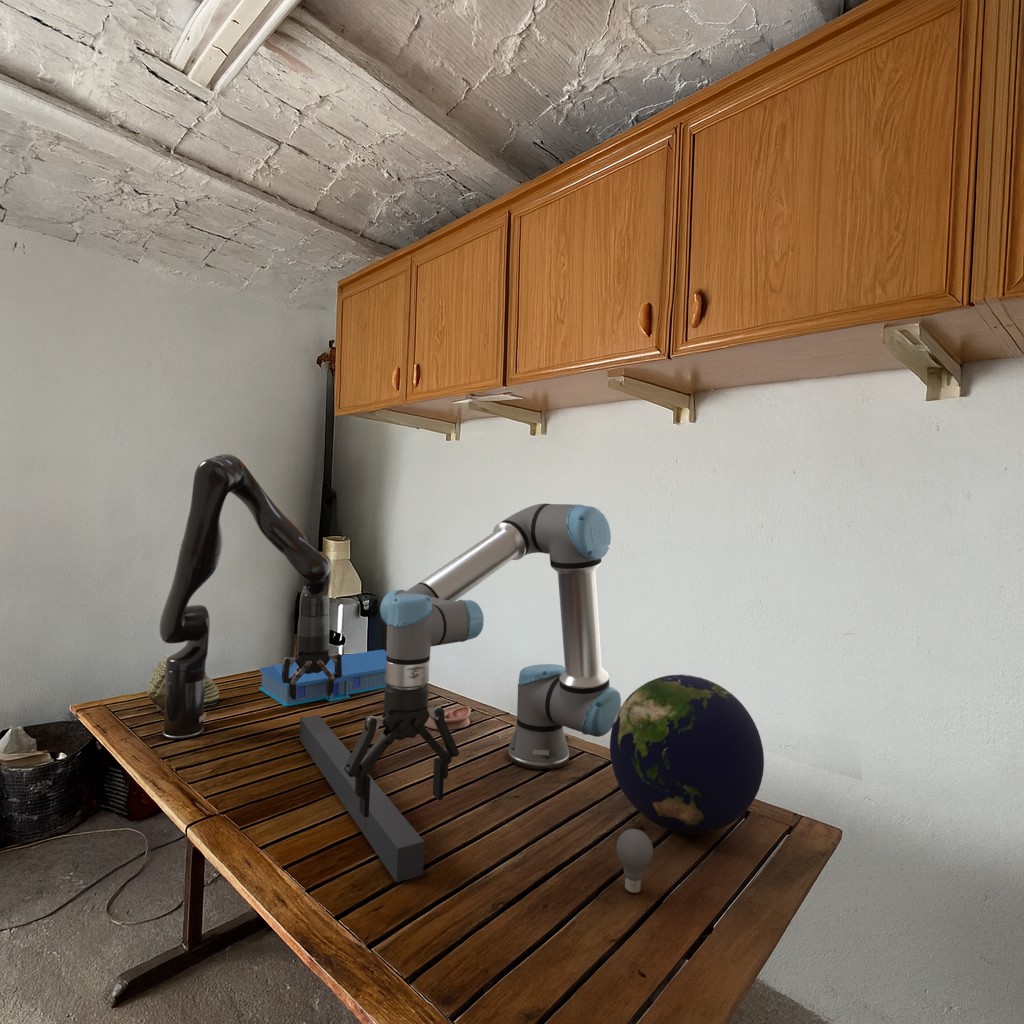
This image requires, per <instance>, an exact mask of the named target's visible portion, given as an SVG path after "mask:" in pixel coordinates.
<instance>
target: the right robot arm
mask: <svg viewBox="0 0 1024 1024" xmlns="http://www.w3.org/2000/svg"><path fill="white" fill-rule="evenodd" d="M611 538H612V532H611V527H610V524H609V521H608V519H607V517H606V515H605V514H604V513H603V512H602V511H601V510H600V509H599V508H596V507H595V506H590V505H584V504H572V503H571V504H570V503H569V504H566V503H565V504H564V503H538V504H534V505H530V506H528V507H526V508H523V509H521V510H519V511H517V512H515V513H513V514H512V515H510V516H508V517H506V518H505V519H504V520H502V521H500V522H499V523H497V524H496V525H495V526H494V527H493V530H492V533H491V534H489V535H487V536H486V537H484V538H483V539H482V540H480V541H479V542H477V543H475V544H474V545H473V546H471V547H470V548H468V549H466V550H465V551H464V552H462V553H461V554H459V555H458V556H456V557H455V558H453V559H452V560H450V561H449V562H448V563H446V564H444V565H443V566H442V567H440V568H438V569H437V570H436V571H434V572H432V573H431V574H430V575H428V576H427V577H425V578H424V579H423V580H421V581H419V582H418V583H416V584H414V585H413V586H412V587H410V588H409V589H406V590H405V589H399V590H398V589H395V590H390V591H389V592H388V593H387V594H385V596H383V598H382V600H381V604H380V606H379V612H380V616H381V620H382V621H383V622H384V623H385V624H386V652H387V653H386V672H385V682H386V683H387V685H386V686H385V688H384V698H383V699H384V701H383V712H382V715H380V716H379V715H377V716H375V715H374V716H373V715H372V714H371V713H370V714H367V715H366V716H365V718H364V725H363V729H362V731H361V732H360V734H359V737H358V739H357V741H356V743H355V745H354V747H353V748H352V751H351V752H350V753H351V755H350V757H349V759H348V761H347V763H346V765H345V768H344V770H345V771H346V773H347V774H348V775H349V776H350V777H355V793H356V795H357V796H358V797H360V807H359V811H360V812H361V813H362V815H363V816H364V818H365V817H369V800H370V777H371V776H370V775H369V776H370V777H369V776H368V775H367V774H369V773H370V772H371V770H372V769H373V768H374V766H375V764H376V763H377V762H378V761H379V759H380V758H381V757H382V756H383V754H384V753H385V751H386V750H387V749H388V747H389V746H391V745H392V744H393V743H394V742H395V741H396V740H397V741H403V740H405V739H414V738H416V737H417V736H418V735H420V737H421V738H422V739H423V740H424V741H425V742H426V744H427V745H428V746H429V747H430V749H432V750H433V752H434V753H435V754H436V755H437V756H438V757H436V758H435V757H434V758H433V777H432V795H433V796H434V798H436V800H438V801H443V799H444V781H445V780H446V779H448V776H449V764H451V763H452V760H453V758H454V757H455V758H457V757H458V756H459V755H460V752H459V749H458V746H457V744H456V742H455V740H454V738H453V735H452V733H451V731H450V729H448V726H447V724H446V722H445V716H444V713H445V710H444V709H443V708H442V707H441V706H439V704H434V705H433V706H432V708H428V705H429V686H428V683H429V681H430V680H429V679H430V661H431V649H432V648H431V647H436V646H443V645H449V644H454V643H464V642H466V641H469V640H473V639H475V638H478V637H479V635H480V634H481V632H482V631H483V630H484V622H485V617H484V612H483V610H482V608H481V606H480V605H479V603H477V602H476V601H474V600H471V599H461V598H463V596H464V595H466V594H467V593H469V592H470V591H471V590H473V589H474V588H475V587H477V586H478V585H479V584H481V583H483V581H486V579H488V578H489V577H490V576H491V575H493V574H495V573H496V572H497V571H499V570H500V569H502V568H503V567H504V566H505V565H507V564H508V563H510V562H511V561H518V560H521V559H523V558H524V557H525V556H527V555H530V554H539V553H540V554H546V555H549V565H550V567H551V568H552V569H553V570H554V571H555V572H556V573H557V581H558V582H557V583H558V596H559V607H560V608H559V609H560V620H561V635H562V636H561V637H562V647H563V661H564V665H562V664H557V663H556V664H555V663H554V664H553V663H542V664H541V663H539V664H532V665H528V666H525V667H523V668H522V669H521V670H520V671H519V674H518V683H517V702H516V703H517V707H516V726H515V729H514V731H513V734H512V737H511V740H510V743H509V745H508V750H507V758H508V760H509V761H510V762H511V763H512V764H514V765H516V766H518V767H521V768H525V769H529V770H536V771H549V770H555V769H560V768H562V767H565V766H566V765H567V764H568V763H569V761H570V750H569V746H568V743H567V739H569V737H568V735H565V732H564V728H568V729H570V730H574V731H576V732H580V733H582V735H585V736H586V735H587V736H588V735H589V736H592V737H596V738H600V737H603V736H605V735H606V734H608V733H609V732H610V731H612V726H613V722H614V720H615V717H616V715H617V713H618V711H619V709H620V707H621V706H622V697H621V694H620V692H619V691H618V689H616V688H615V687H613V686H611V685H610V675H609V673H608V672H607V671H606V669H604V668H603V666H602V651H601V635H600V621H599V620H600V619H599V605H598V604H599V603H598V590H597V577H596V570H597V569H598V568H599V567H600V566H601V564H602V559H603V558H604V557H605V556H606V555H607V554H608V551H609V550H610V547H609V546H610V545H611V540H612V539H611ZM429 717H431V719H433V720H434V722H435V724H436V726H437V729H438V730H437V729H436V730H437V731H438V733H439V735H440V738H441V740H442V742H443V745H444V747H445V748H446V749H444V748H443V747H442V746H441V744H440V743H439V742H438V741H437V740H436V739H435V737H434V736H432V734H431V733H430V731H429V730H428V729H427V727H426V726H424V725H425V723H426V722H427V720H428V719H429ZM381 725H383V726H384V727H383V729H382V730H381V731H380V733H379V735H378V738H377V739H376V740H375V741H374V743H373V744H372V742H373V739H374V737H375V735H376V732H377V731H378V730H379V729H380V726H381ZM371 744H372V746H371ZM370 746H371V747H370ZM369 747H370V748H369Z"/></svg>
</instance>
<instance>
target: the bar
mask: <svg viewBox="0 0 1024 1024" xmlns="http://www.w3.org/2000/svg"><path fill="white" fill-rule="evenodd" d="M299 741H300V743H301V745H302V746H303V747H304V749H305V750H306V752H307V753H308V755H309V756H310V758H311V759H312V760H313V762H314V764H315V765H316V767H317V768H318V769H319V771H320V772H321V774H322V775H323V778H325V780H326V781H327V783H328V784H329V786H330V787H331V788H332V791H334V793H335V795H336V796H337V797H338V799H339V801H340V803H342V805H343V807H344V808H345V809H346V812H348V814H349V815H350V817H351V818H352V819H353V821H354V823H355V824H356V826H357V827H358V828H359V830H360V831H361V833H362V834H363V836H364V837H365V839H366V840H367V842H368V843H369V844H370V846H371V848H372V849H373V850H374V852H375V853H376V855H377V856H378V858H379V859H380V861H381V863H382V864H383V865H384V867H385V868H386V870H387V871H388V872H389V874H390V876H391V877H392V879H393V880H394V881H395V883H400V882H404V881H407V880H411V879H414V878H418V877H421V876H423V875H424V863H425V862H424V861H425V840H424V839H423V838H422V837H421V836H420V834H419V833H418V831H416V829H415V828H414V827H413V826H412V825H411V823H410V822H409V821H408V819H406V817H405V816H404V815H403V814H402V813H401V811H400V810H399V809H398V808H397V806H396V805H395V804H394V803H393V802H392V801H391V800H390V798H389V797H388V796H387V795H386V793H385V792H384V791H383V790H382V789H381V787H380V786H379V785H378V784H377V782H376V781H375V780H374V779H373V778H372V776H371V775H369V773H368V774H367V775H368V776H369V777H370V800H369V817H365V818H364V816H363V815H362V813H361V812H360V811H359V807H360V797H358V796H357V795H356V793H355V777H350V776H349V775H348V774H347V773H346V771H345V770H344V768H345V765H346V763H347V761H348V759H349V757H350V755H351V753H352V752H351V751H349V749H348V748H347V747H346V746H345V744H344V742H342V741H341V740H340V739H339V737H338V736H337V735H336V734H335V732H334V731H333V730H332V728H330V726H329V725H328V723H326V722H325V720H324V719H323V718H322V717H321V715H320V714H318V715H311V716H304V717H300V719H299Z"/></svg>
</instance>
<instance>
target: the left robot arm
mask: <svg viewBox="0 0 1024 1024" xmlns="http://www.w3.org/2000/svg"><path fill="white" fill-rule="evenodd" d="M193 475H194V476H193V482H192V491H191V501H190V507H189V513H188V517H187V521H186V525H185V529H184V533H183V537H182V540H181V543H180V548H179V552H178V556H177V562H176V567H175V571H174V576H173V579H172V582H171V583H172V584H171V587H170V589H169V591H168V596H167V598H166V600H165V604H164V606H163V610H162V612H161V616H160V619H159V629H158V630H159V636H160V638H161V641H163V642H164V643H166V644H171V645H172V644H180V643H181V644H183V643H186V644H185V645H184V646H183V647H182V648H181V649H180V650H178V651H176V652H174V653H172V654H170V655H171V656H169V657H168V658H167V660H166V674H165V705H164V709H163V708H162V709H161V711H160V712H161V713H162V714H163V731H162V737H164V738H166V739H169V740H185V739H190V738H191V739H192V738H194V737H197V736H199V735H202V734H203V732H204V730H205V729H204V722H205V721H204V720H205V719H206V718H207V712H205V706H204V693H205V672H206V664H207V663H206V662H207V658H208V653H209V652H208V651H209V641H210V640H209V639H210V631H211V617H210V613H209V610H208V608H207V607H206V606H205V605H203V604H192V605H191V604H190V605H189V602H190V600H191V599H192V597H193V596H194V594H195V593H196V592H197V591H198V590H199V589H200V588H201V587H202V586H203V585H204V584H205V583H207V581H208V580H209V579H210V578H211V577H212V575H213V574H214V573H215V572H216V571H217V569H218V566H219V562H220V558H221V555H222V552H223V546H224V538H223V532H222V527H221V516H222V515H221V514H222V511H223V508H224V504H225V501H226V498H227V496H228V494H229V493H230V494H232V495H234V496H235V497H236V498H237V499H239V500H240V501H241V502H242V504H244V506H245V507H246V508H247V509H248V511H249V513H250V514H251V516H252V518H253V520H254V522H255V524H256V526H257V528H258V530H259V532H260V533H261V534H262V535H263V536H264V538H265V539H266V540H267V541H268V542H269V543H270V544H271V545H272V546H273V547H274V548H275V549H276V550H277V551H278V552H279V553H281V554H282V555H283V556H284V557H285V558H286V560H287V561H288V562H289V564H290V565H291V566H292V567H293V569H294V570H295V571H296V572H297V573H298V574H299V575H300V576H301V577H302V590H301V591H302V592H301V594H300V598H299V616H298V621H297V622H298V623H297V645H296V646H297V647H296V649H297V650H296V655H295V657H289V656H287V655H285V656H284V657H283V659H282V664H283V667H282V677H281V679H282V681H283V682H284V683H288V684H289V696H290V697H291V698H292V700H295V699H296V684H295V683H296V682H297V681H298V679H299V678H301V677H302V675H303V674H304V673H306V674H311V673H319V672H321V671H323V672H324V673H325V675H326V676H327V677H328V679H327V686H326V694H327V695H328V696H331V693H333V691H334V680H335V679H336V678H340V677H342V659H341V653H339V652H338V651H337V652H334V653H332V654H330V652H329V650H330V649H329V648H330V625H331V624H330V587H331V581H332V568H333V567H332V565H333V564H332V560H331V558H330V557H329V555H328V554H326V552H323V551H319V550H317V549H316V548H315V547H314V546H313V545H312V544H311V543H310V542H309V541H308V540H307V537H306V535H305V534H304V533H303V532H302V530H300V528H298V527H297V526H296V525H295V524H294V523H293V522H292V520H290V519H289V518H288V517H287V516H286V515H285V514H284V513H283V512H282V510H281V509H280V508H279V507H278V506H277V505H276V503H274V502H273V500H272V499H271V498H270V496H269V495H268V494H267V493H266V491H265V490H264V489H263V488H262V486H261V485H260V483H259V482H258V481H257V480H256V478H255V477H254V475H253V474H252V472H251V471H250V470H249V469H248V468H247V466H246V465H245V464H244V462H243V461H242V460H241V459H240V458H238V457H237V456H236V455H233V454H231V453H222V454H218V455H214V456H212V457H209V458H206V459H204V460H202V461H201V462H200V463H199V464H198V465H197V467H196V469H195V472H194V474H193ZM330 659H332V661H333V662H334V663H335V672H334V673H331V672H330V671H329V670H328V668H327V667H326V665H327V663H328V662H329V661H330ZM294 662H296V664H297V665H298V667H297V669H296V670H295V671H294V673H293V675H292V676H291V677H289V667H291V666H292V665H293V663H294Z"/></svg>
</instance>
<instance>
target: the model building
mask: <svg viewBox="0 0 1024 1024" xmlns="http://www.w3.org/2000/svg"><path fill="white" fill-rule="evenodd" d="M386 653H387V650H385V649H376V650H368V651H363V652H356V653H349V654H342V655H341V654H340V655H341V659H342V677H340V678H336V679H335V680H334V691H333V693H331V696H328V695H327V694H326V686H327V679H328V677H327V676H326V675H325V673H324V672H323V671H321V672H319V673H311V674H306V673H304V674H303V675H302V677H301V678H299V679H298V681H297V682H296V683H295V684H296V699H295V700H292V698H291V697H290V696H289V684H288V683H284V682H283V681H282V679H281V677H282V667H283V663H278V664H272V665H268V666H264V667H263V666H262V667H260V668H259V672H260V673H261V686H260V687H258V690H260V691H261V692H262V693H264V694H265V695H267V696H268V697H270V698H271V699H273V700H274V701H276V702H277V703H279V704H280V705H282V706H283V707H290V706H297V705H302V704H307V703H312V702H317V701H323V700H325V701H327V702H329V703H330V702H335V701H341V700H346V699H347V700H348V699H350V698H351V695H353V694H359V693H364V692H365V693H366V692H369V691H373V690H381V689H385V686H386V685H387V683H386V682H385V672H386ZM297 667H298V665H297V664H296V662H294V663H293V665H292V666H291V667H289V677H291V676H292V675H293V673H294V671H295V670H296V669H297ZM326 667H327V668H328V670H329V671H330V672H331V673H334V672H335V663H334V662H333V661H332V659H330V661H329V662H328V663H327V665H326Z"/></svg>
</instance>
